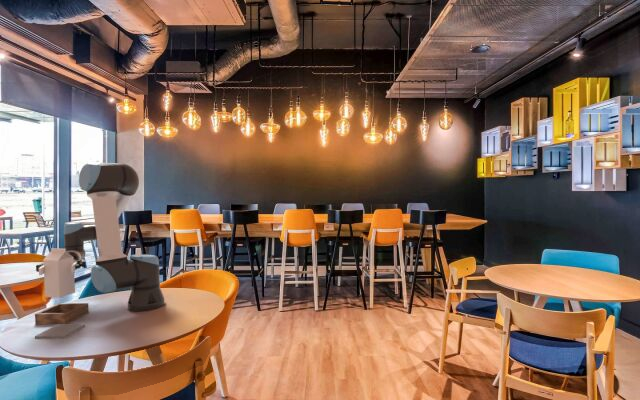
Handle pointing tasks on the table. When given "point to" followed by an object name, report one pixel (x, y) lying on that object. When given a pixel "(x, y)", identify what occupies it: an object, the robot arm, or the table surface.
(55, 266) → the milk carton
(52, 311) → the walnut holder
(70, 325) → the slate pad
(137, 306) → the robot arm
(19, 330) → the table surface
